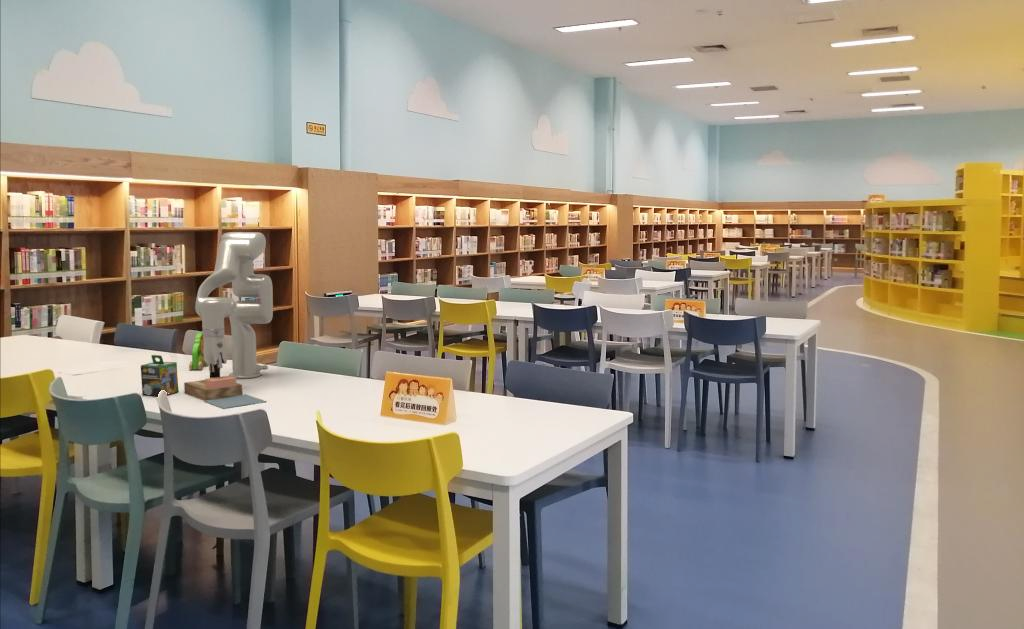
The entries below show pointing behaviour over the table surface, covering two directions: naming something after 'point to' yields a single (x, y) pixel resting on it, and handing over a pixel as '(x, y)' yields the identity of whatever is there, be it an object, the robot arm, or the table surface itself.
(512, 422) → the table surface
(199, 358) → the toy lion
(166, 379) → the green printed box
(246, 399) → the mat
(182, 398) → the table surface
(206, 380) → the salmon pink block
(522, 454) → the table surface
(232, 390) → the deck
